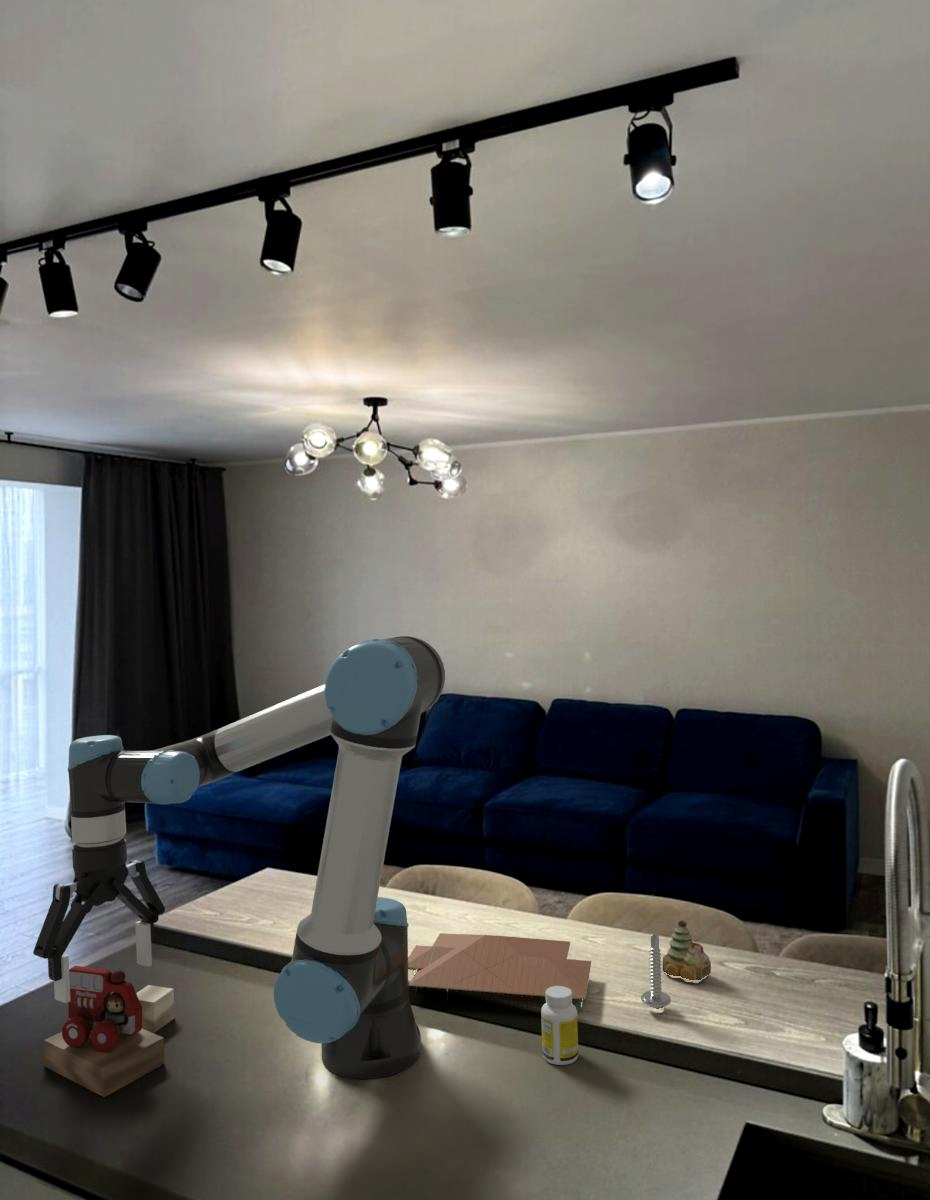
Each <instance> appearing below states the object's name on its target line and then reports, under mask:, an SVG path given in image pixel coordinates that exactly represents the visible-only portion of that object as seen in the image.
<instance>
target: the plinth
mask: <svg viewBox="0 0 930 1200" xmlns="http://www.w3.org/2000/svg"><path fill="white" fill-rule="evenodd" d="M91 1032H92V1030H91ZM43 1061H44V1065H43V1066H44V1068H47V1069H49V1070H51V1071H52V1072H55V1073H56V1074H58V1075H60V1076H62V1077H64V1078H65V1079H68V1080H70V1081H71V1082H74V1083H75V1084H78V1085H79V1086H82V1087H83V1088H85V1089H87V1090H89V1091H91V1092H93V1093H96V1094H98V1095H99V1096H101V1097H103V1098H106V1097H107V1096H110V1095H111V1094H112V1093H115V1092H117V1091H119V1090H120V1089H122V1088H124V1087H126V1086H128V1085H129V1084H131V1083H133V1082H135V1081H136V1080H139V1079H140V1078H142V1077H145V1074H146V1075H147V1073H148V1074H150V1073H152V1072H153V1071H155V1070H156V1068H157V1069H159V1068H160V1067H162V1066H163V1065H162V1064H164V1065H165V1037H163V1036H161V1035H159V1034H157V1033H153V1032H149V1031H147V1030H144V1029H141V1031H140V1032H138V1033H137V1034H135V1035H125V1034H121V1035H119V1041H118V1043H117V1045H116V1046H115V1047H113V1048H112V1049H111V1050H109V1051H107V1052H101V1051H99V1050H97V1049H96V1048H95V1047H94V1045H93V1044H92V1041H91V1033H90V1037H89V1039H88V1040H87V1041H86V1042H85V1043H84V1044H82V1045H81V1046H79V1047H71V1046H69V1045H68V1044H66V1042H65V1041H64V1039H63V1037H62V1031H60V1032H59V1033H56V1034H54V1035H52V1036H49V1037H48V1038H45V1039H43ZM161 1065H162V1066H161ZM159 1066H160V1067H159ZM154 1069H155V1070H154ZM152 1070H153V1071H152Z"/></svg>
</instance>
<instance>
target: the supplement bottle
mask: <svg viewBox="0 0 930 1200" xmlns="http://www.w3.org/2000/svg"><path fill="white" fill-rule="evenodd" d="M545 994H546V996H544V1000H545V1002H546V1003H543V1004H542V1006H541V1010H540V1011H541V1014H540V1015H541V1016H540V1017H541V1052H542V1058H543V1059H544V1060H545V1061H546V1062H547V1063H549V1064H552V1065H556V1066H557V1065H558V1066H566V1065H570V1064H573V1063H575V1062H576V1061H577V1059H578V1057H579V1036H578V1035H579V1032H578V1008H577V1006H576V1005H573V1004H574V1003H573V999H572V991H571V990H570V989H569V988H567V987H563V986H553V987H550V988H548V989H547V990H546V992H545Z"/></svg>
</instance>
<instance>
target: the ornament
mask: <svg viewBox="0 0 930 1200" xmlns="http://www.w3.org/2000/svg"><path fill="white" fill-rule="evenodd" d="M673 931H674V932H673V933H672V934H671V938H672V939H670V940H669V949H668V950H667V952H666V953H667V954H665V955H664V956H663V957H662V971H663V973H664V972H666V973H667V974H669V975H673V976H681V977H682V978H686V979H689V980H701V979H702V978H704V977H705V976H707V975H709V974H710V975H711V972H712V961H711V960H710V957H709V955H708V954H707V953H706V952H705V951H704V946H703V945H702V944H700V943H697V942H694V941H692V939H693V938H692V935H691V934H690V930H689V928H687V922H685V920H683V919H681V920H680V921H678V923H677V926H676V927H675V928H674V930H673ZM710 975H709V976H710Z"/></svg>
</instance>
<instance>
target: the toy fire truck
mask: <svg viewBox="0 0 930 1200" xmlns="http://www.w3.org/2000/svg"><path fill="white" fill-rule="evenodd" d="M126 978H127V977H126V972H125V971H124V970H123V969H116V970H115V971H113V972H112V971H111V970H110V969H105V968H97V967H89V966H80V965H74V966H72V967H70V968H69V979H70V1002H67V1003H68V1009H67V1011H68V1014H67V1015H68V1016H67V1018H68V1019H67V1021H65V1023H64V1024H63V1026H62V1029H61V1032H62V1037H63V1039H64V1041H65V1042H66V1044H68V1045H69V1046H71V1047H79V1046H81V1045H82V1044H84V1043H85V1042H86V1041H87V1040H88V1039H89V1037H90V1033H91V1041H92V1044H93V1045H94V1047H95V1048H96V1049H97V1050H99V1051H101V1052H107V1051H109V1050H111V1049H112V1048H113V1047H115V1046H116V1045H117V1043H118V1041H119V1035H121V1034H125V1035H135V1034H137V1033H138V1032H140V1031H141V1029H142V1006H141V1004H140V1001H139V999H138V997H137V994H136V993H137V992H136V989H135V986H134V985H133V983H132V982H131V981H129V980H126ZM91 1030H92V1032H91Z"/></svg>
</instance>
